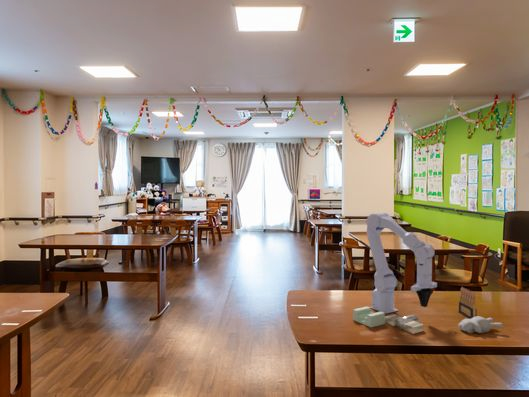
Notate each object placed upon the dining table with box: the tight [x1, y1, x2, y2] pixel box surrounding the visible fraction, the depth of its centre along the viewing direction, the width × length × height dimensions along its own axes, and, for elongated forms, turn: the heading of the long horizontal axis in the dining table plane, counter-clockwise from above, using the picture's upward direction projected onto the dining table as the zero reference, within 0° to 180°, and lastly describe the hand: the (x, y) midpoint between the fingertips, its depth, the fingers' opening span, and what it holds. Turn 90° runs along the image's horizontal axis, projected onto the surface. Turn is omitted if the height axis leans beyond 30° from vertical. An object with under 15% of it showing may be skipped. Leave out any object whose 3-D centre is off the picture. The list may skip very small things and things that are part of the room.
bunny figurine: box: [457, 315, 504, 334], centre depth 152 cm, size 10×5×15 cm
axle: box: [395, 314, 420, 330], centre depth 156 cm, size 4×9×4 cm, turn 121°
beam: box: [385, 314, 424, 335], centre depth 156 cm, size 14×6×2 cm, turn 31°
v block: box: [352, 306, 386, 328], centre depth 161 cm, size 10×8×4 cm
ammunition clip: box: [458, 286, 478, 319], centre depth 168 cm, size 11×2×12 cm, turn 3°
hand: (423, 306), depth 162 cm, fingers closed
